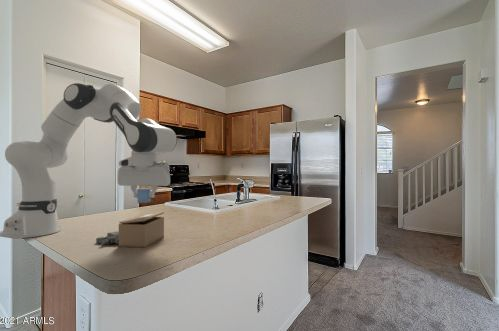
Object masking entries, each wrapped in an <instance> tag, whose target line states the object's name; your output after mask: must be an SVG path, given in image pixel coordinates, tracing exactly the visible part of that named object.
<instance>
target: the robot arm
mask: <svg viewBox="0 0 499 331" xmlns="http://www.w3.org/2000/svg"><path fill="white" fill-rule="evenodd" d="M141 113H142V105H141V103H140V101H139V100H138V99H137V98H136V97H135V96H134V95H133V94H132V93H131V92H129V91H128V90H127V89H125V88H123V87H121V86H120V85H118V84H115V83H107V84H105V85H103V86H102V87H101V88H100V89H99V88H98V89H96V88H95V87H94V86H93V85H91V84H84V83H80V82H79V83H78V82H76V83H75V82H74V83H72V84H69V85H68V86H67V87H66V88H65V89H64V92H63V99H61V100H60V101H59V102H58V103H57V104H56V105H55V106H54V108H53V109H52V111H50V113H49V114H48V116H47V117H46V119H45V120H44V121H43V123H42V124H41V127H40V128H41V131H42V132H43V133H42V134H43V135H42V138H41V139H40V141H37V142H36V141H30V140H29V141H28V140H23V141H22V140H21V141H16V142H12V143H10V144H9V145H7V147H6V148H5V151H4V158H5V160H6V161H7V163H8V164H10V165H11V166H12V167H13V168H14V169H15V170H16V172H17V174H18V176H19V179H20V182H21V197H22V198H21V201H20V202H16V206H18V210H17V211H15V213H13V214H12V215H11V216H9V217H8V218H6V219H5V220H4V222H3V230H1V231H0V238H1V237H2V238H6V239H15V240H20V239H26V238H33V237H40V236H41V237H42V236H46V235H51V234H55V233H58V232H60V231H61V225H60V224H59V217H58V211H57V207H58V200H57V197H56V196H57V193H56V188H57V187H56V186H57V185H56V181H55V179H54V178H52V177H51V175H50V173H49V170H48V169H52V168H58V167H60V166H63V165H64V164H65V163H66V162H67V161H68V152H67V150H68V149H67V148H68V145H69V142H70V141H71V139H72V137H74V134H75V133H76V132H77V130H78V128H80V126H81V125H82V123H83V121H84V120H85V119H86V118H89V117H90V118H91V119H92V118H93V120H95V121H98V122H101V123H109V124H110V123H113V122H114V124H115V125H116V127H118V129H119V130H120V131H121V133H122V134H123V136H124V137H125V139H126V140H125V141H126V142H127V144H128V146H129V148H130V149H131V156H130V157H127V158H124V159H121V160H119V161H118V166H119V168H118V170H117V184H118V185H119V186H124V187H127V186H129V187H130V190H131V191H132V194H133V198H136V199H137V189H138V187H141V186H142V187H145V186H146V187H151V188H150V189H151V193H149V198H151V199H152V198H155V197H156V196H155V194H156V191H157V190H158V187H166V186H169V185H170V184H171V174H170V171H171V170H170V164H169V163H168V162H166V161H157V153H162V154H163V153H170V152H172V151H173V150H175V148H176V146H177V143H178V137H177V134H176V132H175V131H174V130H173V129H172V128H170V127H166V126H164V125H162V124H161V125H160V124H159V123H157V122H156V121H155V120H153V119H152V118H139V116H140V115H141ZM138 118H139V119H138Z"/></svg>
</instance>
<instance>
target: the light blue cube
mask: <svg viewBox="0 0 499 331" xmlns="http://www.w3.org/2000/svg"><path fill="white" fill-rule="evenodd" d="M136 189H137V198H136V200H137V203H139V204H145V203H146V204H147V203H151V202H152V198H149V193H151V191H152V189H151V188H136Z"/></svg>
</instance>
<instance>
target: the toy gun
mask: <svg viewBox="0 0 499 331" xmlns="http://www.w3.org/2000/svg"><path fill="white" fill-rule="evenodd" d="M106 235H107V236H99V237H96V239H95V242H96V244H101V245H102V246H103V245H112V244H116V245H118V244H119V231H117V230H116V231H111V232H107V234H106Z"/></svg>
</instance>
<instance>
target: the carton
mask: <svg viewBox="0 0 499 331" xmlns="http://www.w3.org/2000/svg"><path fill="white" fill-rule="evenodd" d="M118 232H119V243H118V247H119V248H120V247H121V248H123V247H124V248H144V249H145V248H147V247H149V246H151V245H152V244H153V243H155V242H157V241H160V240H161V239H163V238H164V237H165V217H164V216H156V217H154V218H151V219H148V220H146V221H140V222H130V223H118Z"/></svg>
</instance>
